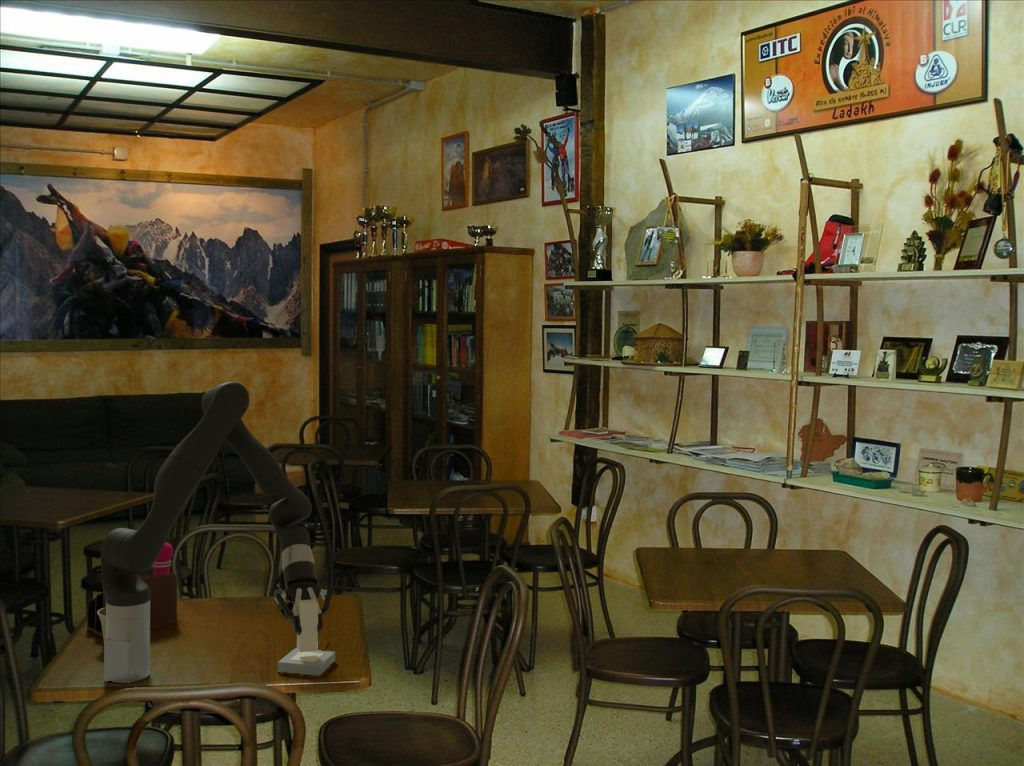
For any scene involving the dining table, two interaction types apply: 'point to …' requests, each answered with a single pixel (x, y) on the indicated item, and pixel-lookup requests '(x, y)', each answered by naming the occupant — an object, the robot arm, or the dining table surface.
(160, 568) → the pepper mill
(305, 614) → the pillar
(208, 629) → the dining table surface
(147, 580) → the letter holder
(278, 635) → the dining table surface
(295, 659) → the slab
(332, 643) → the dining table surface
